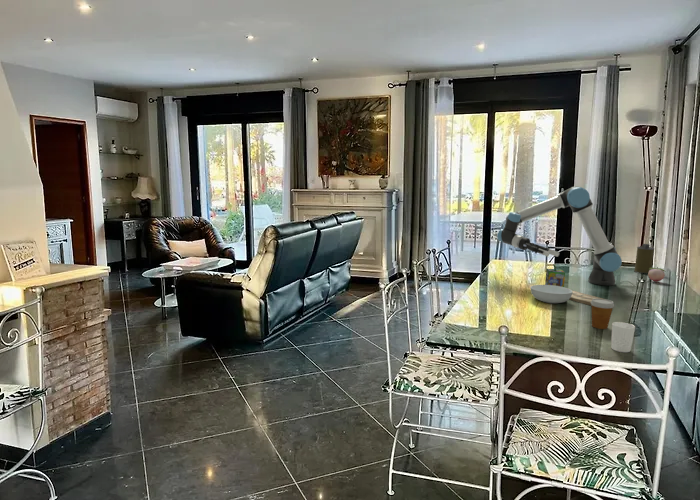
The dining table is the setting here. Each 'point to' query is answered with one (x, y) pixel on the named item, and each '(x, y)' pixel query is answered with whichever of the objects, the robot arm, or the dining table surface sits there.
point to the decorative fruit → (656, 274)
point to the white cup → (622, 336)
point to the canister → (644, 259)
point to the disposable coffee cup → (601, 312)
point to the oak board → (583, 297)
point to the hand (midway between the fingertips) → (553, 254)
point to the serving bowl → (551, 293)
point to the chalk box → (555, 277)
